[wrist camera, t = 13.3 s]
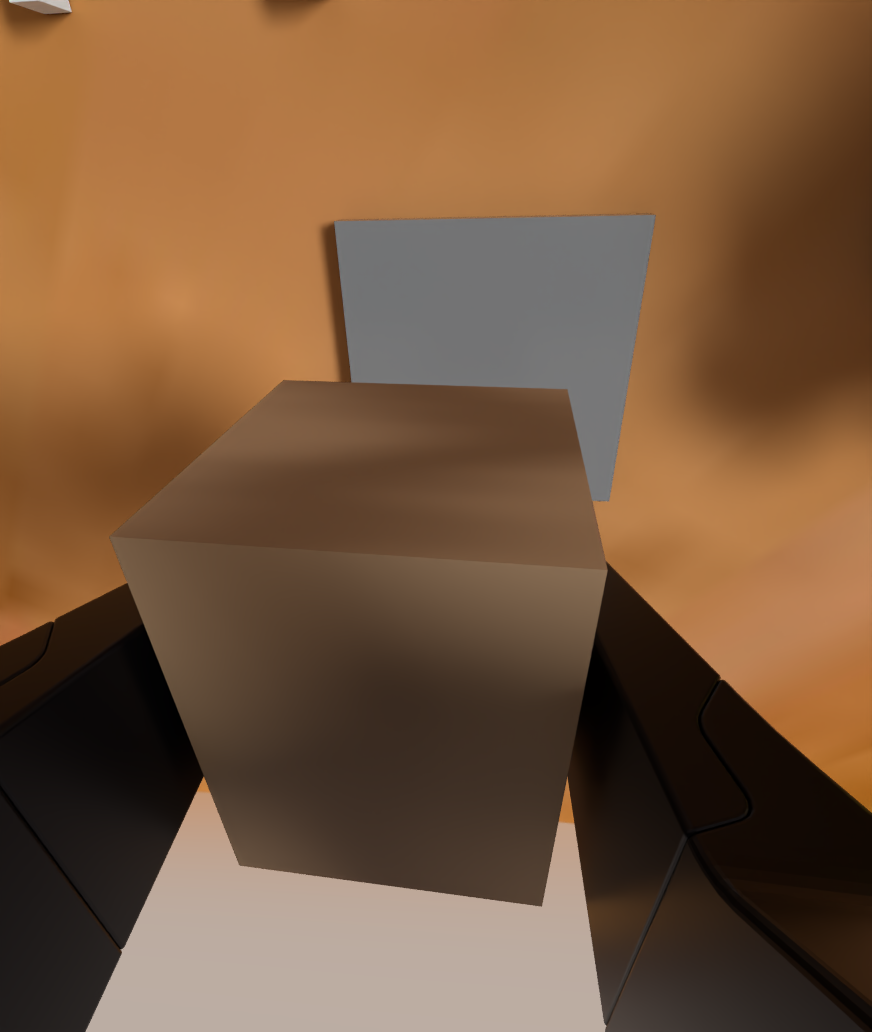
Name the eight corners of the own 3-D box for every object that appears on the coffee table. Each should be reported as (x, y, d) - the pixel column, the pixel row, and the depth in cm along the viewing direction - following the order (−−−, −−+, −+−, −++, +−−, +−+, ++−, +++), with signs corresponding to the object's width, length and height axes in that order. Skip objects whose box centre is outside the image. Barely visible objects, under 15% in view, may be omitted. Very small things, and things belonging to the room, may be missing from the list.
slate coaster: (650, 213, 15) (655, 214, 15) (606, 493, 20) (609, 501, 20) (339, 219, 16) (333, 221, 16) (366, 483, 21) (363, 491, 21)
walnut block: (567, 389, 8) (608, 569, 5) (533, 665, 12) (541, 906, 8) (282, 380, 9) (109, 536, 5) (326, 647, 12) (239, 865, 8)
